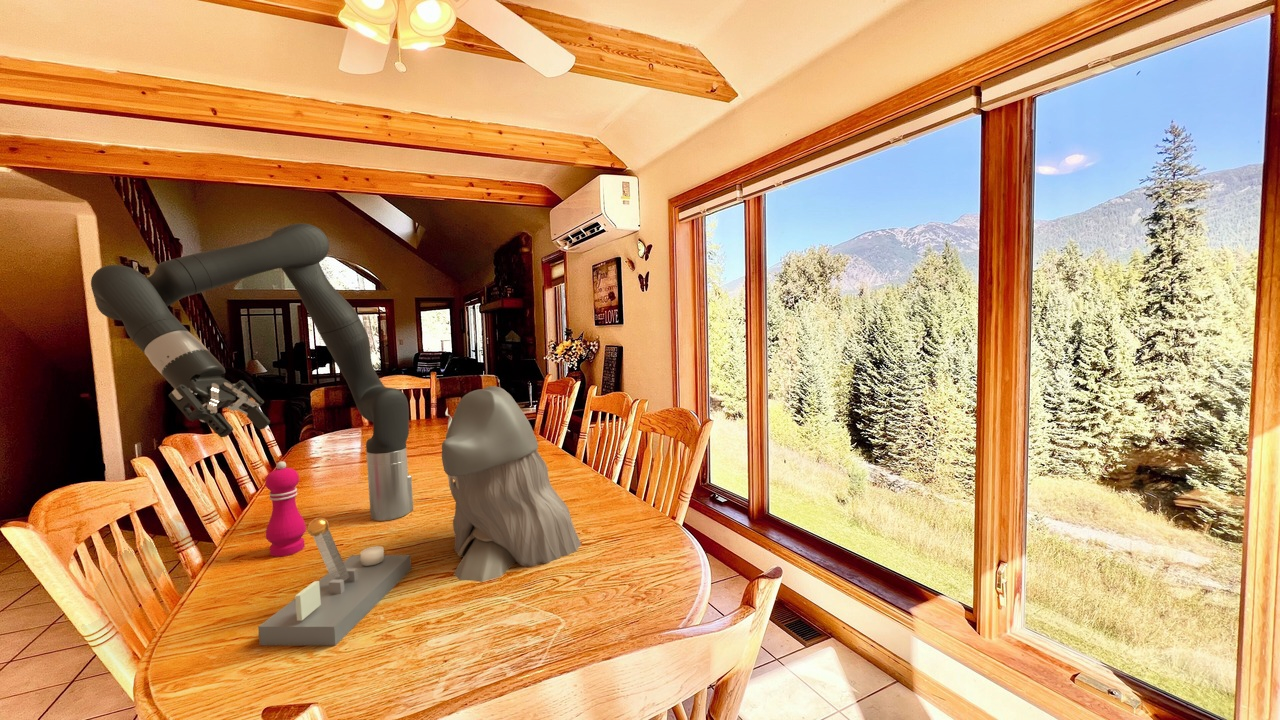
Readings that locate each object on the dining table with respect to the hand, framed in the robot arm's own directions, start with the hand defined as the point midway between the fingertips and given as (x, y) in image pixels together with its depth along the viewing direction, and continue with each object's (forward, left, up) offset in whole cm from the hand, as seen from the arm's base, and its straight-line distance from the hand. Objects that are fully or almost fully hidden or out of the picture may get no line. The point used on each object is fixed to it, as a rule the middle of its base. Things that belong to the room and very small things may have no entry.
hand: (247, 429), depth 90 cm
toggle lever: (-7, +15, -28) cm, 33 cm away
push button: (-15, +11, -28) cm, 33 cm away
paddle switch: (+1, +20, -28) cm, 34 cm away
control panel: (-7, +15, -31) cm, 35 cm away
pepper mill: (-12, -18, -31) cm, 38 cm away
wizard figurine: (-39, +22, -31) cm, 54 cm away
